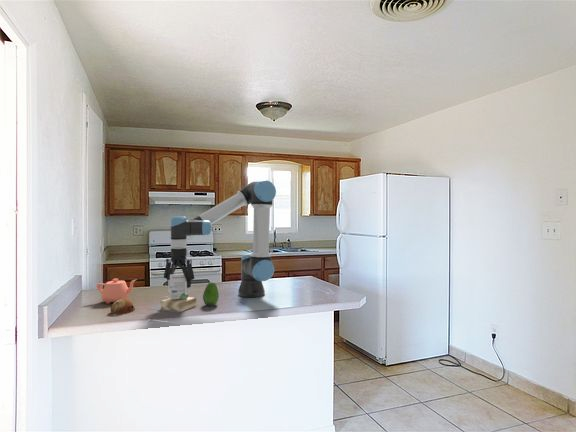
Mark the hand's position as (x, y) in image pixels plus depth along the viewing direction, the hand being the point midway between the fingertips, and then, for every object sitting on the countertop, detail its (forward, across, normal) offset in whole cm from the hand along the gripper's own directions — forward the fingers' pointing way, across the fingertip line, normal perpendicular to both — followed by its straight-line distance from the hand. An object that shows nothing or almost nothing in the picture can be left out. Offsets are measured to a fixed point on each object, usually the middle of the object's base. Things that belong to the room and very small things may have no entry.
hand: (178, 293), depth 189 cm
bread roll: (+8, +20, +16) cm, 27 cm away
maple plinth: (+7, 0, 0) cm, 7 cm away
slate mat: (+7, +3, 0) cm, 8 cm away
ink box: (+2, 0, 0) cm, 2 cm away
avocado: (+8, -12, -10) cm, 17 cm away
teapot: (+8, +39, +1) cm, 40 cm away
